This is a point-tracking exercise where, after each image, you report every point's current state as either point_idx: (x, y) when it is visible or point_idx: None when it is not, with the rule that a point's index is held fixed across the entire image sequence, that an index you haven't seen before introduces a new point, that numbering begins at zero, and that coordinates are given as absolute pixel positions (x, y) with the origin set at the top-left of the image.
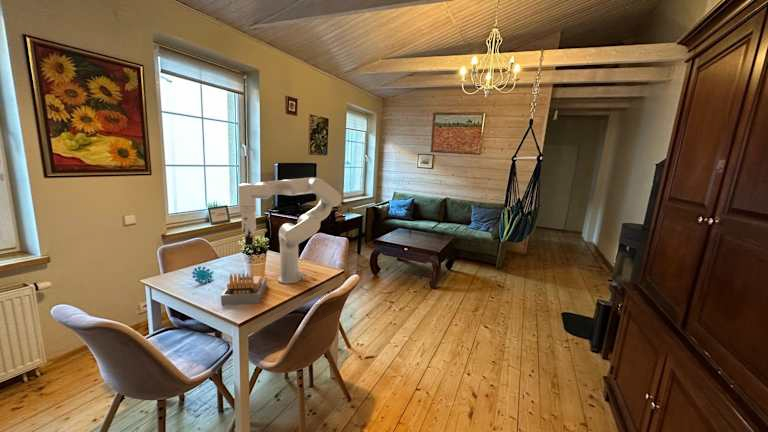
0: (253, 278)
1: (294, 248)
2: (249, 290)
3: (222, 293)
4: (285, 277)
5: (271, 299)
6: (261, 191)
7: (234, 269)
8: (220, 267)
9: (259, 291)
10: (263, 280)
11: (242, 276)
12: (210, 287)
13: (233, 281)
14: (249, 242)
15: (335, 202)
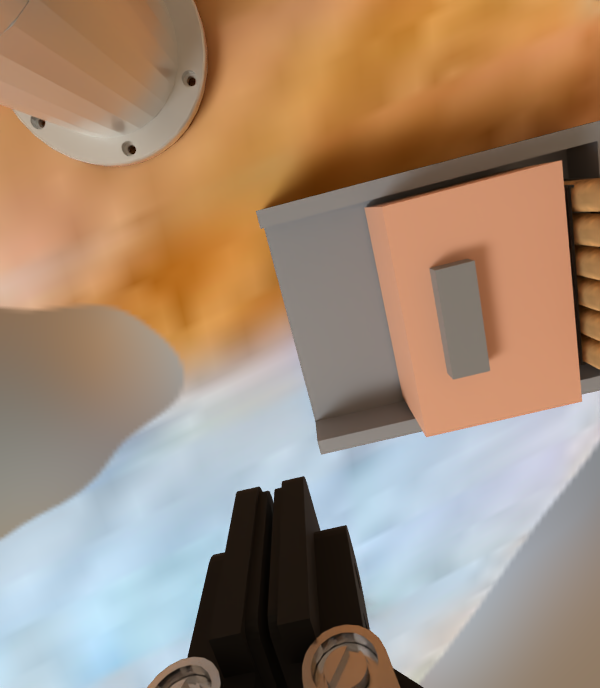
0: (448, 250)
1: None
2: (579, 213)
3: (597, 389)
4: (169, 49)
5: (508, 59)
6: None
7: (38, 553)
8: (35, 643)
9: (567, 133)
10: (333, 202)
11: None
12: (350, 538)
13: (523, 383)
14: (351, 549)
15: None
